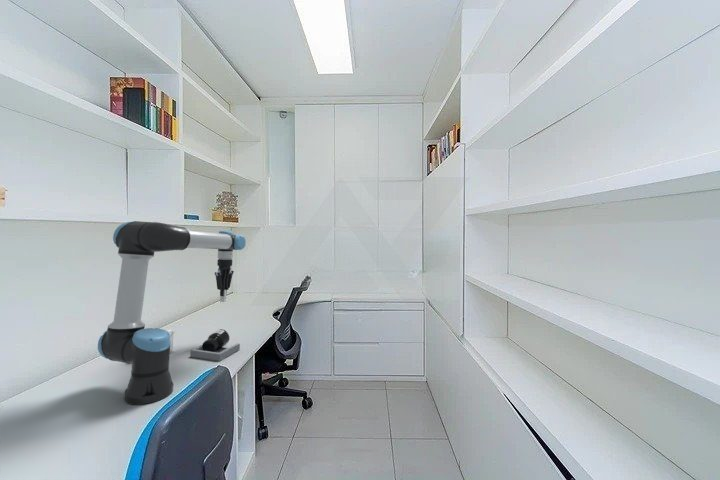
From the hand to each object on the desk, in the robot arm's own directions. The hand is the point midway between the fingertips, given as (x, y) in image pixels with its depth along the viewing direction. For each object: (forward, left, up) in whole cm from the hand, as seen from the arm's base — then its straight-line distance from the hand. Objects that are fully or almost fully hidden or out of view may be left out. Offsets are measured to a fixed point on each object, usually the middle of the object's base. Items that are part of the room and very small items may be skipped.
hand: (223, 301), depth 170 cm
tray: (-12, -6, -24) cm, 27 cm away
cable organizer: (-24, +18, -24) cm, 39 cm away
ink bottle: (-3, -3, -18) cm, 19 cm away
